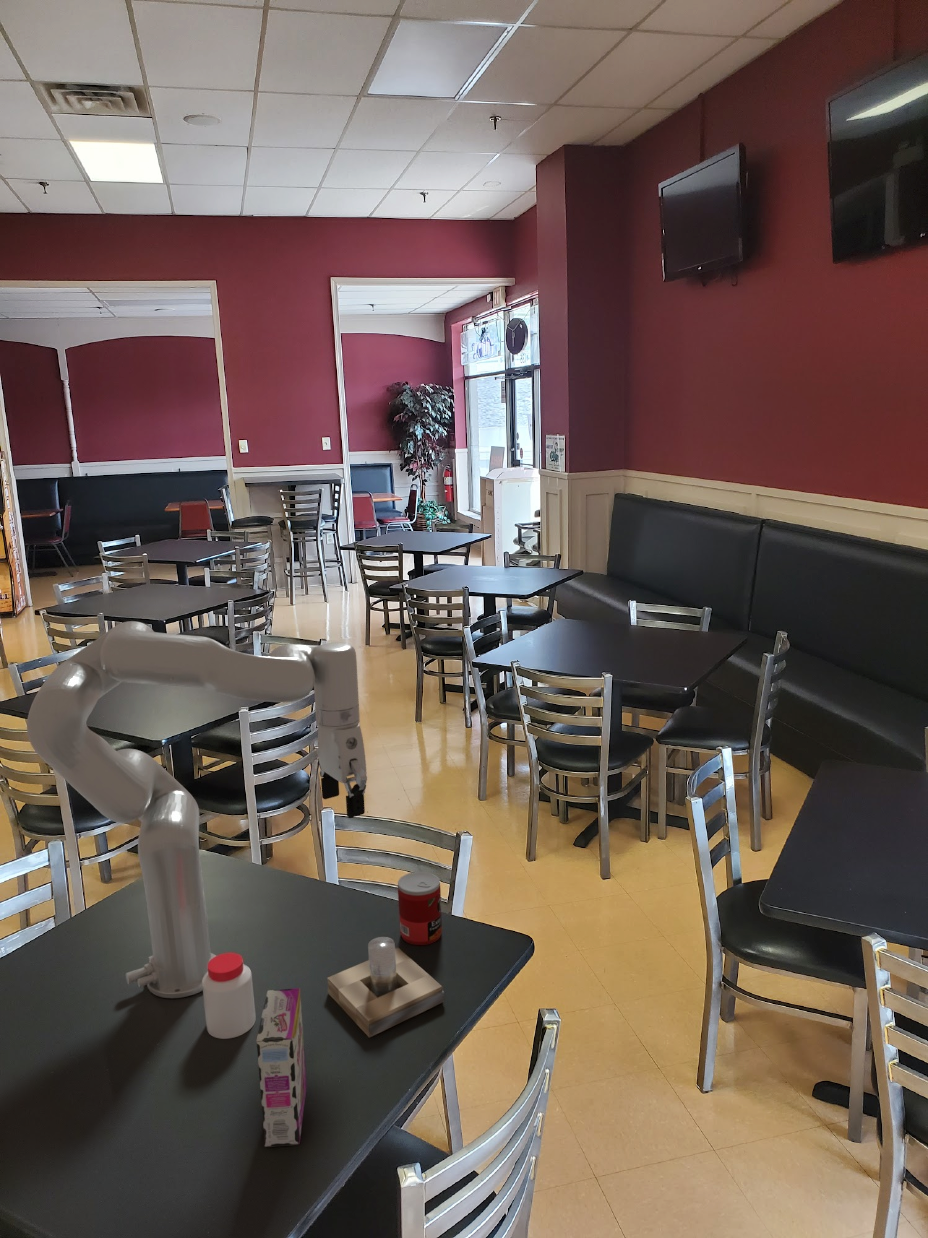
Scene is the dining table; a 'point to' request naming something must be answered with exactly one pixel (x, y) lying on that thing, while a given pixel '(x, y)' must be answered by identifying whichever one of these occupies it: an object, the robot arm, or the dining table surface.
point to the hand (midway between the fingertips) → (343, 806)
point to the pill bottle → (228, 996)
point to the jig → (392, 1007)
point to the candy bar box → (282, 1067)
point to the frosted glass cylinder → (382, 966)
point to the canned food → (420, 908)
